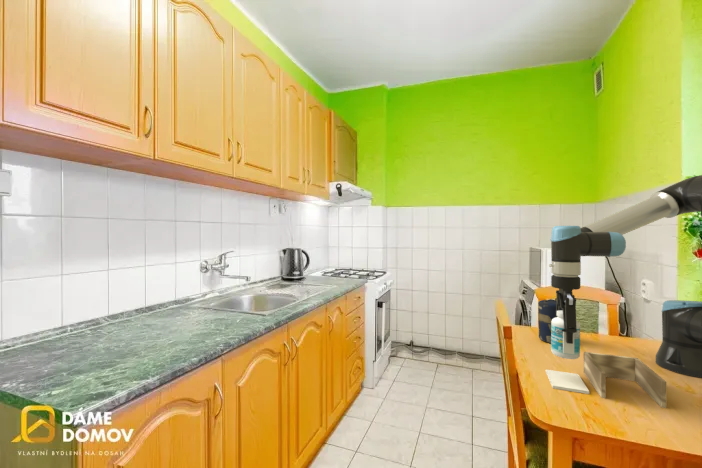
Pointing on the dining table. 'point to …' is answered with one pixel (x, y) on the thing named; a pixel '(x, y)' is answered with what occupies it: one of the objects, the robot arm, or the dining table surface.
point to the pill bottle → (557, 338)
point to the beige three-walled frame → (623, 374)
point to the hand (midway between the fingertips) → (565, 348)
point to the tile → (566, 381)
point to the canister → (546, 318)
